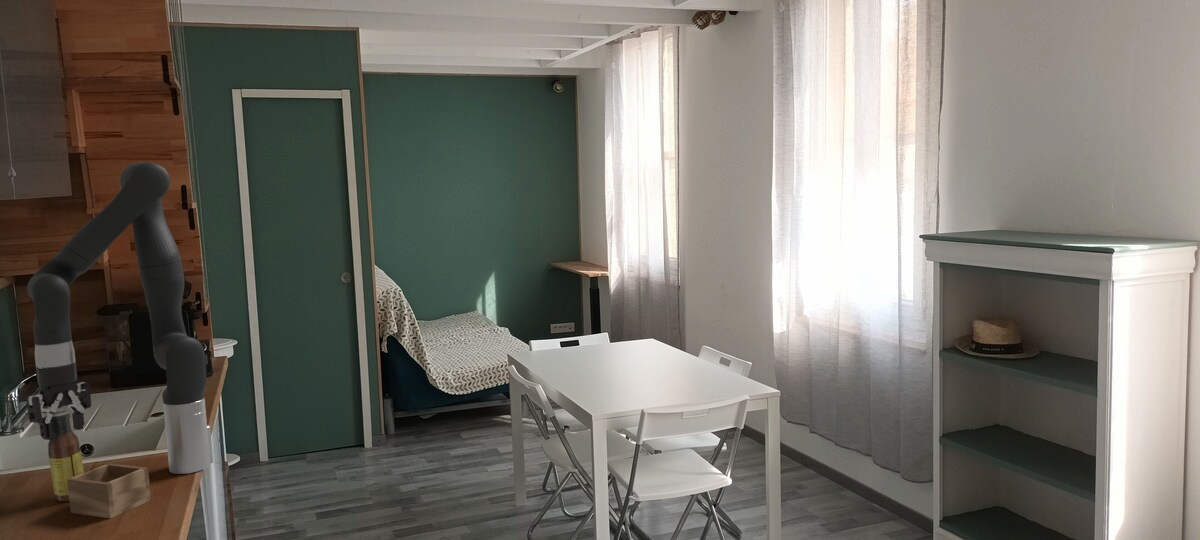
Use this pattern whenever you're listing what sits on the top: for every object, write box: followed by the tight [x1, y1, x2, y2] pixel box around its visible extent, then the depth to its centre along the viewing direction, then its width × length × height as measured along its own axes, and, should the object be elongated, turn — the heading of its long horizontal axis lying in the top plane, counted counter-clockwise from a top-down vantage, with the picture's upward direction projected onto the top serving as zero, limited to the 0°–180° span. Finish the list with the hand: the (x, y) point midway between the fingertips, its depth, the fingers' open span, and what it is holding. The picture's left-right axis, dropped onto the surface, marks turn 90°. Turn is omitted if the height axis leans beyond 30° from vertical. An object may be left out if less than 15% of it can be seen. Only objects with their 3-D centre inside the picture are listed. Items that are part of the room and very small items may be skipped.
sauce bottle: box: [47, 410, 85, 502], centre depth 197 cm, size 7×6×20 cm
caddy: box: [67, 462, 152, 519], centre depth 191 cm, size 10×12×8 cm
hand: (63, 434), depth 196 cm, fingers open, 7 cm apart
